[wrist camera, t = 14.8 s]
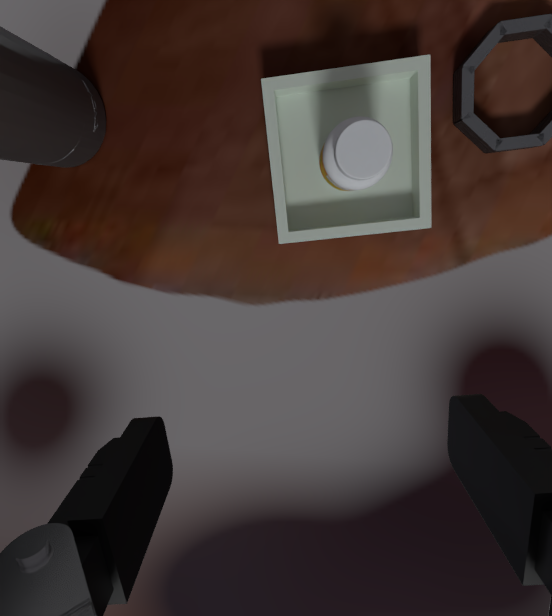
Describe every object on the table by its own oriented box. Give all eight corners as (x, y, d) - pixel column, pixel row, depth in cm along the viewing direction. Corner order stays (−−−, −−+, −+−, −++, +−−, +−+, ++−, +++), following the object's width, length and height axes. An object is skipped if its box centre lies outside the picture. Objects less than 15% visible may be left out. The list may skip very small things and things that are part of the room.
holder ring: (452, 157, 37) (460, 155, 35) (453, 36, 34) (462, 26, 32) (564, 143, 36) (579, 141, 34) (574, 18, 33) (591, 7, 32)
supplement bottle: (338, 118, 36) (352, 91, 27) (388, 149, 36) (418, 133, 27) (308, 172, 37) (310, 164, 28) (355, 201, 38) (374, 203, 28)
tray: (280, 240, 40) (278, 243, 37) (264, 88, 36) (260, 78, 33) (420, 225, 39) (431, 227, 36) (418, 66, 35) (430, 54, 32)
